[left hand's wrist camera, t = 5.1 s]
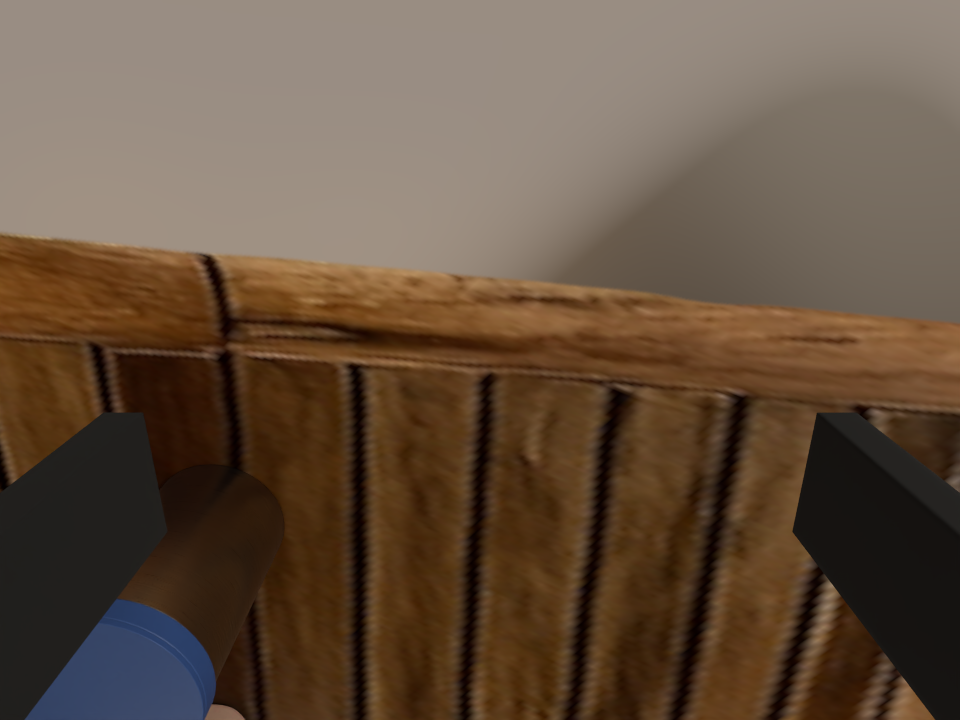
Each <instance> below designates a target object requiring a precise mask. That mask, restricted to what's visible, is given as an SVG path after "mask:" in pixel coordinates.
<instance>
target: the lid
mask: <svg viewBox="0 0 960 720" xmlns="http://www.w3.org/2000/svg"><path fill="white" fill-rule="evenodd" d="M215 689H216V680H215V672H214V668H213V664H212V662H211V660H210V658H209V655H208V654H207V652H206V651H205V649H204V647H203V646H202V645H201V643H200V642H199V641H198V640H197V638H196V637H195V636H194V635H193V634H192V633H191V632H190V631H189V630H188V629H187V628H185V627H184V626H183V625H181V624H180V623H179V622H177V621H176V620H174V619H173V618H171V617H169V616H168V615H166V614H164V613H162V612H160V611H158V610H156V609H154V608H151V607H148V606H146V605H143V604H140V603H136V602H132V601H128V600H122V599H116V600H115V602H114V603H113V604H112V605H111V607H110V608H109V609H108V611H107V612H106V613H105V615H104V616H103V617H102V619H101V620H100V621H99V623H98V624H97V625H96V627H95V628H94V629H93V630H92V632H91V633H90V634H89V636H88V637H87V638H86V640H85V641H84V642H83V644H82V645H81V646H80V648H79V649H78V650H77V652H76V653H75V654H74V655H73V657H72V658H71V659H70V661H69V662H68V663H67V665H66V666H65V667H64V669H63V670H62V671H61V673H60V674H59V675H58V677H57V678H56V679H55V680H54V682H53V683H52V684H51V686H50V687H49V688H48V690H47V691H46V692H45V694H44V695H43V696H42V698H41V699H40V700H39V701H38V703H37V704H36V705H35V707H34V708H33V709H32V711H31V712H30V713H29V715H28V716H27V717H26V719H25V720H205V718H206V716H207V713H208V711H209V709H210V707H211V705H212V703H213V699H214V696H215Z"/></svg>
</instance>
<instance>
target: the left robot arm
mask: <svg viewBox="0 0 960 720" xmlns="http://www.w3.org/2000/svg"><path fill="white" fill-rule="evenodd" d="M166 533H167V527H166V522H165V517H164V512H163V507H162V503H161V498H160V493H159V488H158V483H157V478H156V474H155V469H154V464H153V459H152V454H151V449H150V445H149V440H148V435H147V430H146V425H145V420H144V415H143V413H103V414H101V415H100V416H99V417H98V418H96V419H95V420H94V421H92V422H91V423H90V424H89V425H87V426H86V427H85V428H83V429H82V430H81V431H79V432H78V433H77V434H76V435H74V436H73V437H72V438H70V439H69V440H68V441H67V442H65V443H64V444H63V445H61V446H60V447H59V448H58V449H56V450H55V451H54V452H52V453H51V454H50V455H49V456H47V457H46V458H45V459H43V460H42V461H41V462H40V463H38V464H37V465H36V466H34V467H33V468H32V469H31V470H29V471H28V472H27V473H25V474H24V475H23V476H21V477H20V478H19V479H18V480H16V481H15V482H14V483H12V484H11V485H10V486H9V487H7V488H6V489H5V490H3V491H2V492H1V493H0V720H25V719H26V717H27V716H28V715H29V713H30V712H31V711H32V709H33V708H34V707H35V705H36V704H37V703H38V701H39V700H40V699H41V698H42V696H43V695H44V694H45V692H46V691H47V690H48V688H49V687H50V686H51V684H52V683H53V682H54V680H55V679H56V678H57V677H58V675H59V674H60V673H61V671H62V670H63V669H64V667H65V666H66V665H67V663H68V662H69V661H70V659H71V658H72V657H73V655H74V654H75V653H76V652H77V650H78V649H79V648H80V646H81V645H82V644H83V642H84V641H85V640H86V638H87V637H88V636H89V634H90V633H91V632H92V630H93V629H94V628H95V627H96V625H97V624H98V623H99V621H100V620H101V619H102V617H103V616H104V615H105V613H106V612H107V611H108V609H109V608H110V607H111V605H112V604H113V603H114V602H115V600H116V599H117V598H118V596H119V595H120V594H121V592H122V591H123V590H124V588H125V587H126V586H127V584H128V583H129V582H130V580H131V579H132V578H133V577H134V575H135V574H136V573H137V571H138V570H139V569H140V567H141V566H142V565H143V563H144V562H145V561H146V559H147V558H148V557H149V555H150V554H151V553H152V552H153V550H154V549H155V548H156V546H157V545H158V544H159V542H160V541H161V540H162V538H163V537H164V536H165V534H166ZM793 533H794V534H795V536H796V537H797V538H798V540H799V541H800V542H801V544H802V545H803V546H804V548H805V549H806V550H807V552H808V553H809V554H810V555H811V557H812V558H813V559H814V561H815V562H816V563H817V565H818V566H819V567H820V569H821V570H822V571H823V573H824V574H825V575H826V577H827V578H828V579H829V580H830V582H831V583H832V584H833V586H834V587H835V588H836V590H837V591H838V592H839V594H840V595H841V596H842V598H843V599H844V600H845V602H846V603H847V604H848V605H849V607H850V608H851V609H852V611H853V612H854V613H855V615H856V616H857V617H858V619H859V620H860V621H861V623H862V624H863V625H864V627H865V628H866V629H867V630H868V632H869V633H870V634H871V636H872V637H873V638H874V640H875V641H876V642H877V644H878V645H879V646H880V648H881V649H882V650H883V652H884V653H885V654H886V655H887V657H888V658H889V659H890V661H891V662H892V663H893V665H894V666H895V667H896V669H897V670H898V671H899V673H900V674H901V675H902V677H903V678H904V679H905V680H906V682H907V683H908V684H909V686H910V687H911V688H912V690H913V691H914V692H915V694H916V695H917V696H918V698H919V699H920V700H921V701H922V703H923V704H924V705H925V707H926V708H927V709H928V711H929V712H930V713H931V715H932V716H933V717H934V719H935V720H960V493H959V492H958V491H957V490H955V489H954V488H953V487H951V486H950V485H949V484H948V483H946V482H945V481H944V480H942V479H941V478H940V477H939V476H937V475H936V474H935V473H933V472H932V471H931V470H929V469H928V468H927V467H926V466H924V465H923V464H922V463H920V462H919V461H918V460H917V459H915V458H914V457H913V456H911V455H910V454H909V453H908V452H906V451H905V450H904V449H902V448H901V447H900V446H899V445H897V444H896V443H895V442H893V441H892V440H891V439H890V438H888V437H887V436H886V435H884V434H883V433H882V432H881V431H879V430H878V429H877V428H875V427H874V426H873V425H871V424H870V423H869V422H868V421H866V420H865V419H864V418H862V417H861V416H860V415H859V414H857V413H817V415H816V420H815V425H814V430H813V435H812V440H811V445H810V449H809V454H808V459H807V464H806V469H805V474H804V478H803V483H802V488H801V493H800V498H799V503H798V507H797V512H796V517H795V522H794V527H793Z"/></svg>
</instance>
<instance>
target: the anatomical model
mask: <svg viewBox="0 0 960 720" xmlns="http://www.w3.org/2000/svg"><path fill="white" fill-rule="evenodd" d="M205 720H245V719H244V718H243V716H242V715H241V714H240V713H239V712H238V711H236V710H235V709H233V708H231V707H228V706H224V705H217V704H212V705H211V707H210V709H209V711H208V713H207V716H206V718H205Z"/></svg>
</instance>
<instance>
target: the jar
mask: <svg viewBox="0 0 960 720" xmlns="http://www.w3.org/2000/svg"><path fill="white" fill-rule="evenodd" d="M159 493H160V498H161V503H162V507H163V512H164V517H165V522H166V527H167V533H166V534H165V536H164V537H163V538H162V540H161V541H160V542H159V544H158V545H157V546H156V548H155V549H154V550H153V552H152V553H151V554H150V555H149V557H148V558H147V559H146V561H145V562H144V563H143V565H142V566H141V567H140V569H139V570H138V571H137V573H136V574H135V575H134V577H133V578H132V579H131V580H130V582H129V583H128V584H127V586H126V587H125V588H124V590H123V591H122V592H121V594H120V595H119V596H118V598H117V599H122V600H128V601H132V602H136V603H140V604H143V605H146V606H148V607H151V608H154V609H156V610H158V611H160V612H162V613H164V614H166V615H168V616H169V617H171V618H173V619H174V620H176V621H177V622H179V623H180V624H181V625H183V626H184V627H185V628H187V629H188V630H189V631H190V632H191V633H192V634H193V635H194V636H195V637H196V638H197V640H198V641H199V642H200V643H201V645H202V646H203V647H204V649H205V651H206V652H207V654H208V655H209V658H210V660H211V662H212V664H213V668H214V672H215V680H217V678H218V676H219V674H220V671H221V669H222V667H223V665H224V663H225V661H226V659H227V657H228V654H229V652H230V650H231V648H232V646H233V644H234V642H235V640H236V638H237V635H238V633H239V631H240V629H241V627H242V625H243V623H244V621H245V618H246V616H247V614H248V612H249V610H250V608H251V606H252V604H253V601H254V599H255V597H256V595H257V593H258V591H259V589H260V587H261V584H262V582H263V580H264V578H265V576H266V574H267V572H268V570H269V567H270V565H271V563H272V561H273V559H274V557H275V555H276V553H277V551H278V548H279V546H280V544H281V542H282V538H283V534H284V519H283V514H282V511H281V508H280V506H279V504H278V502H277V500H276V499H275V497H274V496H273V494H272V493H271V492H270V491H269V490H268V489H267V487H265V486H264V485H263V484H262V483H261V482H260V481H258V480H257V479H255V478H254V477H252V476H251V475H249V474H247V473H245V472H243V471H240V470H238V469H235V468H231V467H227V466H222V465H200V466H194V467H191V468H187V469H185V470H183V471H180V472H178V473H177V474H175V475H174V476H172V477H171V478H170V479H169V480H168V481H167V482H166V483H165V484H164V485H163V486H162V487H161V489H160V490H159Z"/></svg>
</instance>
